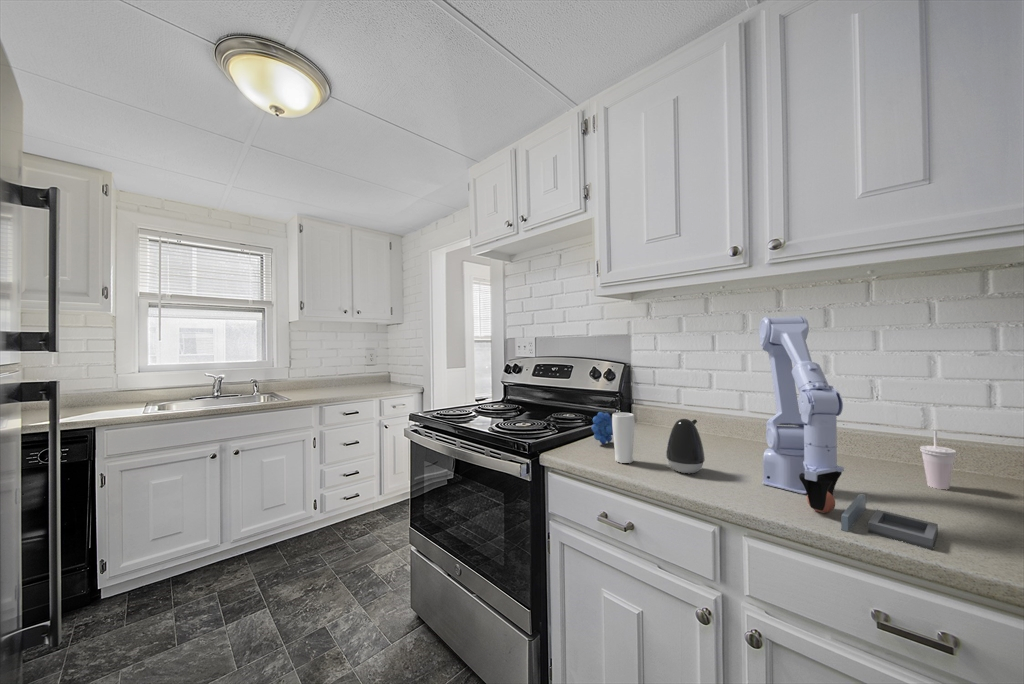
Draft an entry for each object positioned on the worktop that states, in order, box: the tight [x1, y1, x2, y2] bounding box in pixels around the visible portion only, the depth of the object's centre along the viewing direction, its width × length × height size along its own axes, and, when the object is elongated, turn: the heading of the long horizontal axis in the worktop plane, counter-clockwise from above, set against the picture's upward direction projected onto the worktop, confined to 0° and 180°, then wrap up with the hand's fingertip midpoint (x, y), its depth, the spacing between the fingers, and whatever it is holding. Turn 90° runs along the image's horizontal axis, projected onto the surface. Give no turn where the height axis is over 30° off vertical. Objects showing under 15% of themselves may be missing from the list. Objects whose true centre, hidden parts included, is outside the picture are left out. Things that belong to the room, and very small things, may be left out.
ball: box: [806, 492, 836, 514], centre depth 88 cm, size 5×5×5 cm
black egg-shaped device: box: [665, 418, 706, 475], centre depth 116 cm, size 10×10×15 cm
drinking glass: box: [611, 411, 635, 464], centre depth 126 cm, size 7×7×15 cm
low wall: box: [840, 493, 867, 533], centre depth 85 cm, size 1×16×3 cm, turn 129°
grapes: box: [591, 411, 613, 445], centre depth 146 cm, size 12×7×12 cm, turn 125°
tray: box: [867, 509, 939, 551], centre depth 78 cm, size 9×9×2 cm
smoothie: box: [919, 430, 957, 491], centre depth 100 cm, size 6×6×14 cm
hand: (820, 505), depth 88 cm, fingers closed on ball, 5 cm apart
